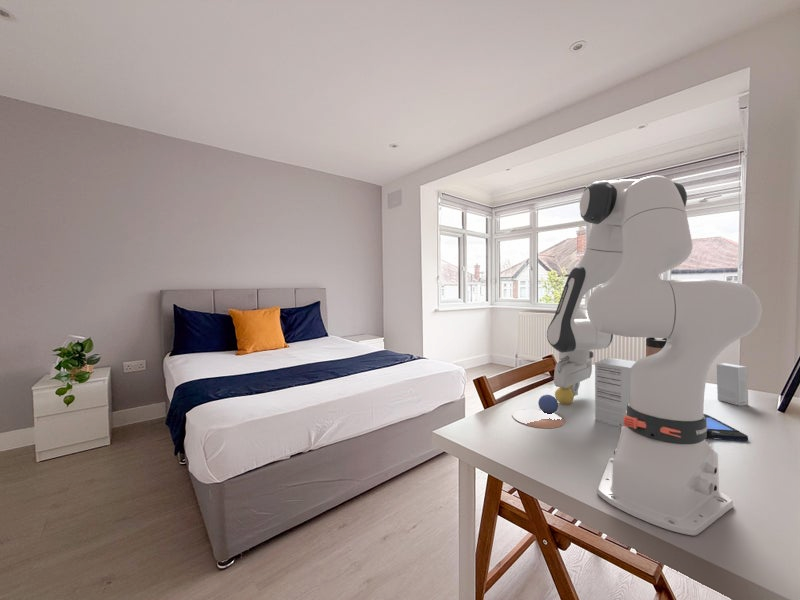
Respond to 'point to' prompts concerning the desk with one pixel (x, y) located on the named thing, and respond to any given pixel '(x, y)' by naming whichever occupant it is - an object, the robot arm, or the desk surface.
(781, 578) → the desk surface
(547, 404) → the ball
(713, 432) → the handheld game console
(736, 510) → the desk surface
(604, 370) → the supplement box
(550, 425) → the mark
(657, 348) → the travel mug
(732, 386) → the skincare box
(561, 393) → the ball
